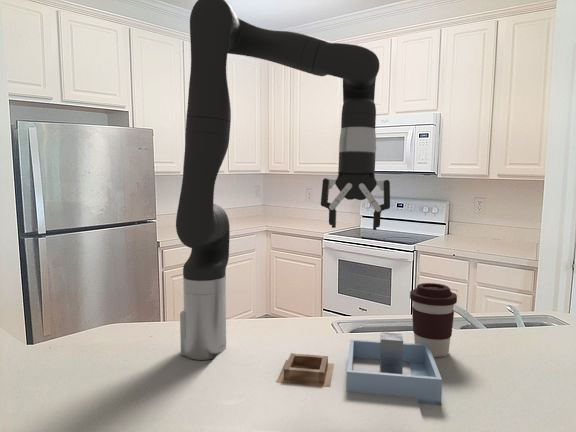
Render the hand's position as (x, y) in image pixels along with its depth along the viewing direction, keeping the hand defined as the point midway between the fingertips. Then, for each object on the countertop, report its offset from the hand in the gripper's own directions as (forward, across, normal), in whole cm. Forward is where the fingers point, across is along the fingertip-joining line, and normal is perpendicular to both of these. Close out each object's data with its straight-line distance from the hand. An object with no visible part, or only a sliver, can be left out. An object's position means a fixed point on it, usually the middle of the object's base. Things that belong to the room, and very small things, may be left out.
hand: (354, 228), depth 88 cm
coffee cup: (+28, +18, +8) cm, 34 cm away
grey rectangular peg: (+28, +8, -8) cm, 30 cm away
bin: (+28, +8, -8) cm, 30 cm away
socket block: (+28, -8, -11) cm, 31 cm away
